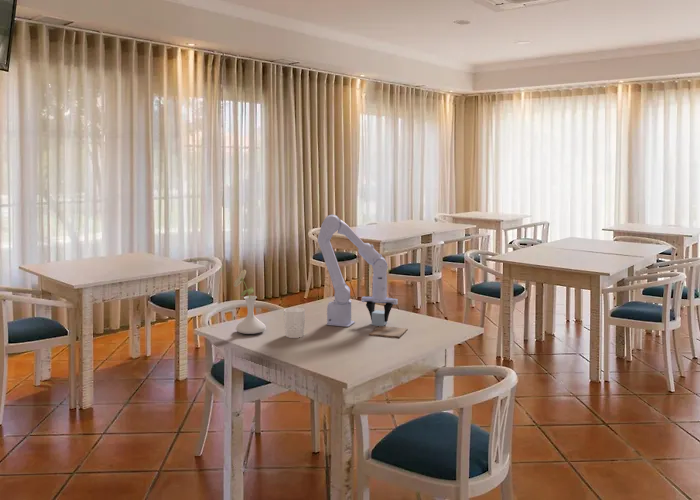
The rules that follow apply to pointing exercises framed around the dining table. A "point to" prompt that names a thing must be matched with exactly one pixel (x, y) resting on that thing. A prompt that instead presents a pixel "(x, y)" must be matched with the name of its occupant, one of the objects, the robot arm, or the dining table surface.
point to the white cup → (294, 322)
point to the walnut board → (388, 331)
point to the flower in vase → (250, 322)
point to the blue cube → (378, 318)
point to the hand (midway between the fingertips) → (379, 320)
